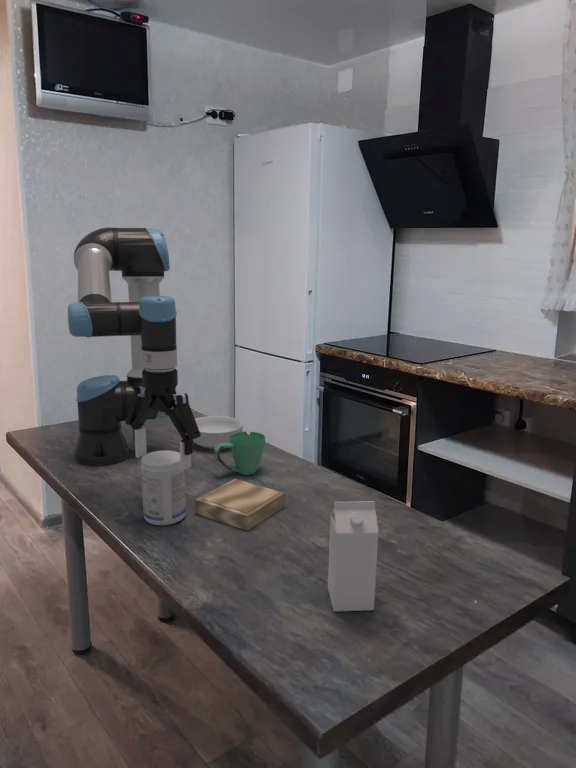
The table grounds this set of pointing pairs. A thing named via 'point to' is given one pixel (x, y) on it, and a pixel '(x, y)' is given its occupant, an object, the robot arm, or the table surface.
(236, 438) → the mug
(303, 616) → the table surface
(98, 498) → the table surface
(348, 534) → the milk carton
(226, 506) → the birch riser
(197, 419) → the cereal bowl
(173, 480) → the supplement tub
